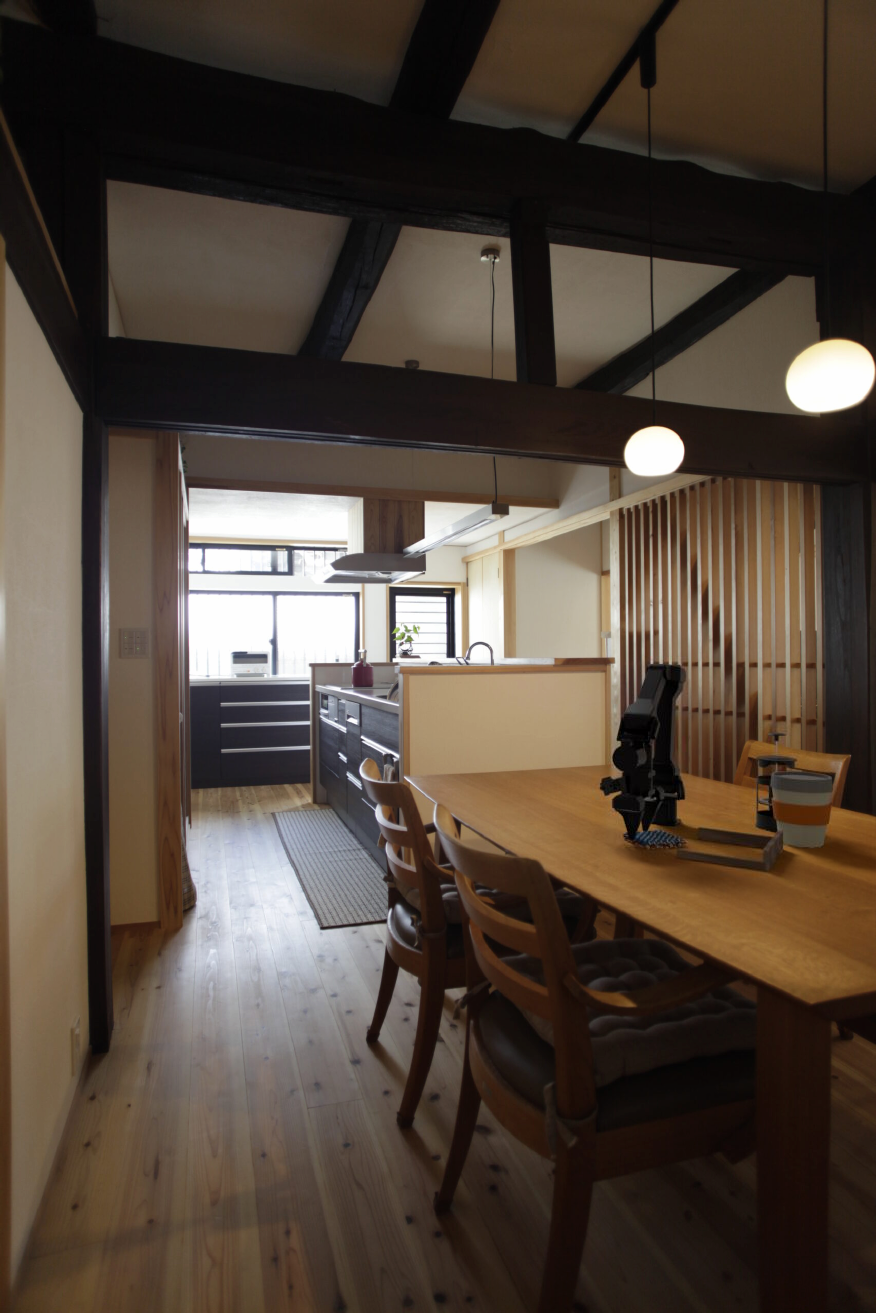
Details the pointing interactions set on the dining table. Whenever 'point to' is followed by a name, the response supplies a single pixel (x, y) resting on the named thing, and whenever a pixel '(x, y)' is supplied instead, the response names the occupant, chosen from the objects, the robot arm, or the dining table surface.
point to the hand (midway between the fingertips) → (638, 835)
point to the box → (769, 843)
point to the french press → (767, 816)
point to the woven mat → (656, 840)
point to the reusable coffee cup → (802, 806)
